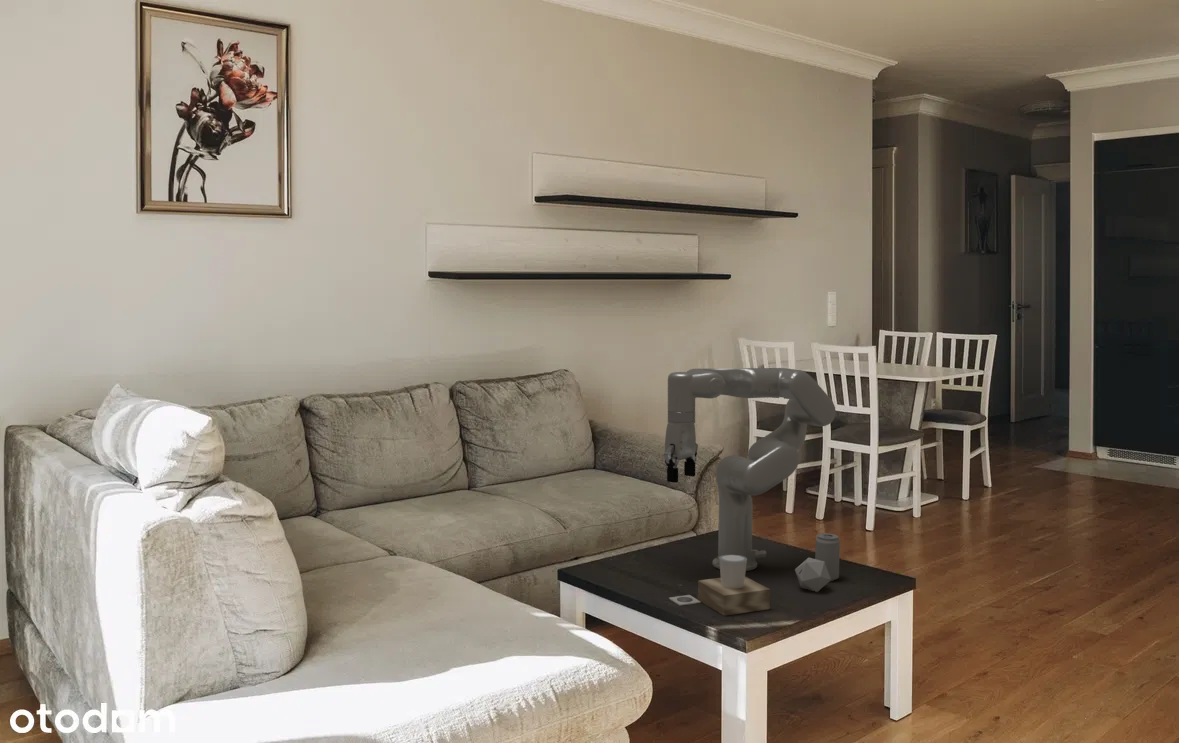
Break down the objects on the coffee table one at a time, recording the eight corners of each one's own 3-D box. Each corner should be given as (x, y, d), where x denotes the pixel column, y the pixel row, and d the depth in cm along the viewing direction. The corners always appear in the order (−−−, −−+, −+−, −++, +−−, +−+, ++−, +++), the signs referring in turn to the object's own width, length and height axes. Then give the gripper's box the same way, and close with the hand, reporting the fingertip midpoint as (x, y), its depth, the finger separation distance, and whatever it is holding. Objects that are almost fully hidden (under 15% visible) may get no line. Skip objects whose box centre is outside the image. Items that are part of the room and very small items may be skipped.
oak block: (741, 593, 253) (742, 574, 253) (769, 608, 241) (770, 589, 241) (697, 599, 248) (698, 580, 248) (724, 615, 236) (724, 595, 236)
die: (799, 584, 263) (786, 560, 259) (827, 569, 263) (815, 545, 258) (810, 604, 256) (797, 580, 252) (839, 588, 255) (826, 564, 251)
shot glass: (746, 590, 240) (746, 562, 239) (718, 588, 241) (718, 560, 241) (746, 581, 247) (747, 554, 246) (719, 580, 248) (719, 553, 247)
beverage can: (840, 576, 268) (841, 534, 267) (836, 583, 262) (837, 539, 261) (817, 574, 271) (818, 531, 270) (812, 580, 265) (813, 536, 264)
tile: (689, 595, 251) (689, 594, 251) (700, 602, 246) (700, 601, 246) (668, 598, 249) (668, 597, 249) (679, 605, 243) (679, 604, 243)
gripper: (684, 412, 276) (684, 472, 277) (653, 420, 262) (653, 483, 263) (708, 414, 272) (708, 475, 273) (678, 422, 257) (678, 486, 259)
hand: (681, 478), depth 268 cm, fingers open, 9 cm apart
